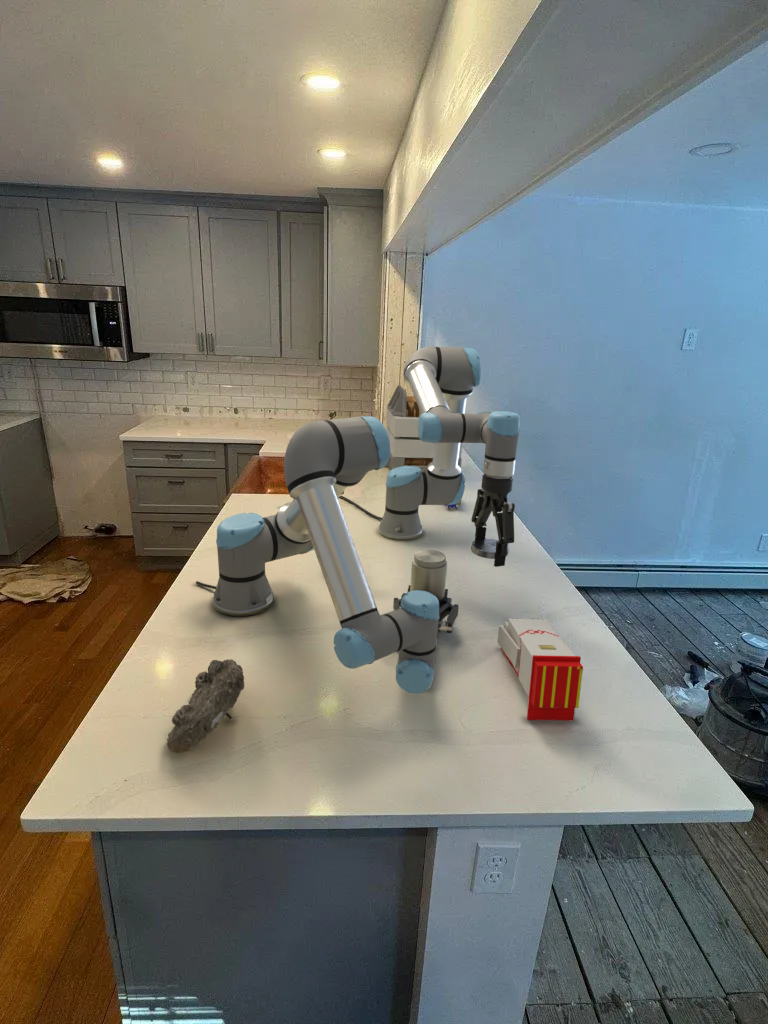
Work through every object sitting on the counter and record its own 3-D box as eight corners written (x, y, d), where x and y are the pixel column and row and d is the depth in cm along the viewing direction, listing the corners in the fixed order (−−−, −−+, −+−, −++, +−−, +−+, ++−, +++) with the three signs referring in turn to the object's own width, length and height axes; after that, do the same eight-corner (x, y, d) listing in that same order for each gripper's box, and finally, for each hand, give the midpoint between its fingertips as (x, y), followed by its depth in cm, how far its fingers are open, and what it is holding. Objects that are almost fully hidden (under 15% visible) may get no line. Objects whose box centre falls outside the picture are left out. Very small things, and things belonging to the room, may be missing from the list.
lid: (475, 558, 143) (475, 552, 142) (467, 544, 152) (468, 537, 151) (512, 559, 143) (513, 552, 143) (502, 544, 152) (503, 538, 152)
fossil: (192, 660, 117) (244, 628, 112) (224, 691, 120) (276, 661, 115) (142, 746, 98) (202, 712, 93) (182, 779, 101) (242, 748, 96)
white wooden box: (382, 463, 289) (386, 382, 275) (445, 464, 293) (451, 384, 279) (390, 482, 257) (394, 392, 243) (460, 483, 261) (468, 394, 247)
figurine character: (461, 514, 225) (456, 498, 239) (463, 497, 222) (458, 482, 235) (444, 513, 225) (440, 498, 239) (446, 496, 222) (442, 481, 235)
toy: (543, 604, 136) (592, 662, 106) (538, 656, 138) (584, 727, 109) (493, 603, 135) (528, 661, 106) (489, 655, 138) (522, 726, 109)
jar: (423, 611, 150) (428, 545, 143) (448, 624, 144) (455, 556, 137) (401, 621, 144) (405, 554, 138) (425, 635, 138) (431, 566, 132)
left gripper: (372, 647, 128) (386, 600, 149) (467, 659, 125) (468, 609, 146) (373, 618, 125) (387, 574, 146) (470, 629, 122) (471, 583, 143)
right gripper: (463, 464, 149) (455, 543, 156) (509, 488, 130) (499, 577, 137) (487, 463, 152) (479, 540, 159) (537, 486, 132) (525, 573, 140)
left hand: (428, 591), depth 146 cm, fingers closed on jar, 9 cm apart
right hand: (488, 557), depth 148 cm, fingers closed on lid, 9 cm apart
